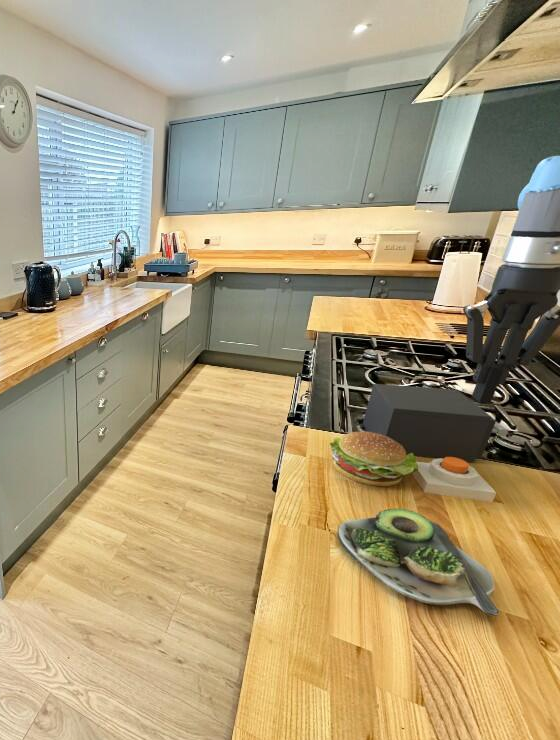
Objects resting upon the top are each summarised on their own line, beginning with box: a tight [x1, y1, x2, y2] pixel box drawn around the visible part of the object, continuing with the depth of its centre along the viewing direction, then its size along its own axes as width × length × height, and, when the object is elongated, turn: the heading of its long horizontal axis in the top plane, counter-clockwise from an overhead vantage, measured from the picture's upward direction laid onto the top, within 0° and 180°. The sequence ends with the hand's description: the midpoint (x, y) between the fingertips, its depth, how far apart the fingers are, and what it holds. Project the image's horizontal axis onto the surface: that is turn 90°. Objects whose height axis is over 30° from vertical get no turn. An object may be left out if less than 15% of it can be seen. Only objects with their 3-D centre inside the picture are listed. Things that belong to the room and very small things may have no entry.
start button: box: [441, 457, 470, 474], centre depth 80 cm, size 4×4×2 cm
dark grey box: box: [362, 383, 493, 464], centre depth 94 cm, size 16×14×11 cm
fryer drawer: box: [475, 417, 509, 460], centre depth 92 cm, size 19×13×9 cm
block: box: [410, 458, 497, 503], centre depth 80 cm, size 10×8×4 cm
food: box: [329, 430, 418, 487], centre depth 85 cm, size 14×14×8 cm
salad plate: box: [337, 508, 500, 617], centre depth 63 cm, size 19×18×5 cm
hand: (480, 399), depth 75 cm, fingers closed
